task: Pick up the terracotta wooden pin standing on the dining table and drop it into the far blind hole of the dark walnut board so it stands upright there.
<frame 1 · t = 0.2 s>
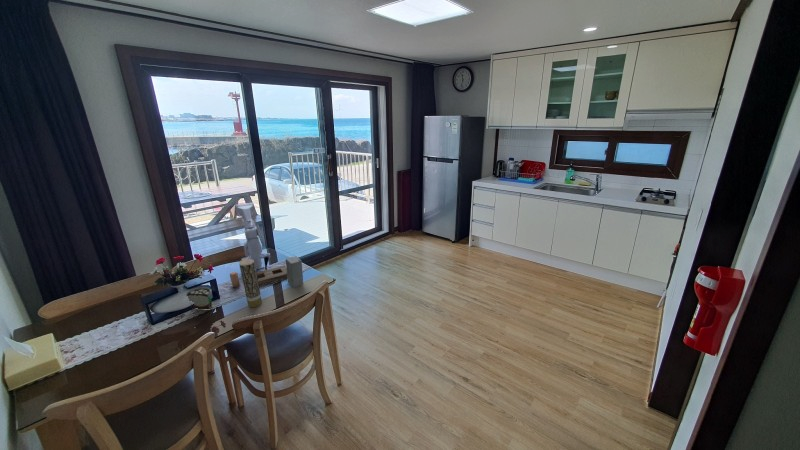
hand: (258, 270, 175), 10 cm above the table, tool pointing down, fingers open, 7 cm apart
pin: (236, 285, 179), on the table
skincare box: (296, 283, 181), on the table
bore board: (269, 278, 187), on the table
food container: (205, 306, 160), on the table
paper tube: (255, 304, 162), on the table
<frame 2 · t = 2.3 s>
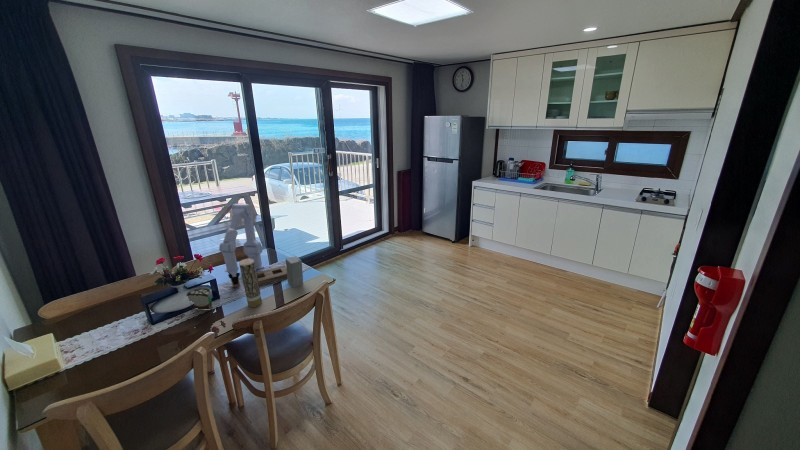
hand: (235, 282, 179), 2 cm above the table, tool pointing down, fingers closed on pin, 4 cm apart
pin: (236, 285, 179), on the table, touching gripper
everything else where it was.
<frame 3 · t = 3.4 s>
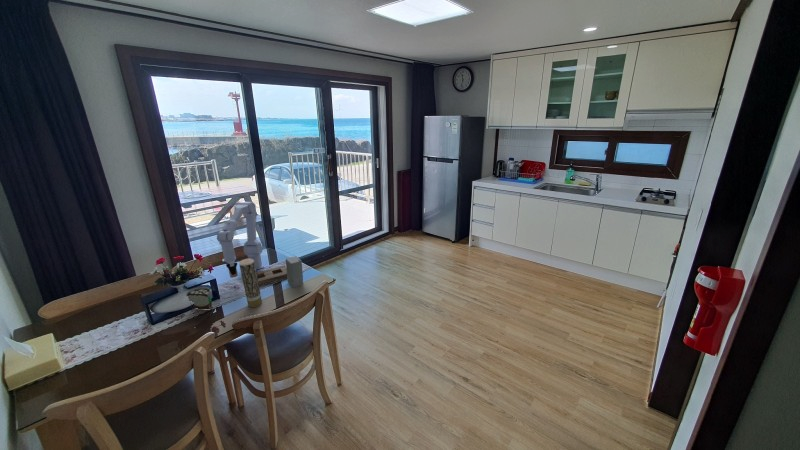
hand: (233, 272, 176), 9 cm above the table, tool pointing down, fingers closed on pin, 4 cm apart
pin: (234, 275, 177), point 6 cm above the table, touching gripper
everything else where it was.
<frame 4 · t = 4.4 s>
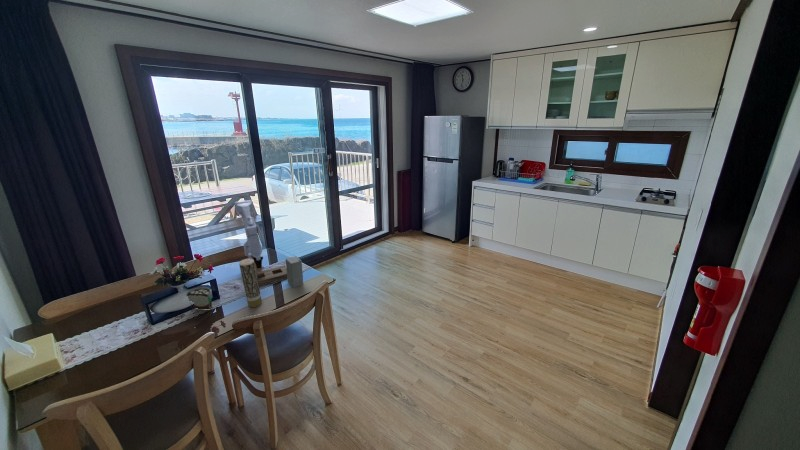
hand: (258, 266, 182), 9 cm above the table, tool pointing down, fingers closed on pin, 4 cm apart
pin: (259, 269, 183), point 7 cm above the table, touching gripper
everything else where it was.
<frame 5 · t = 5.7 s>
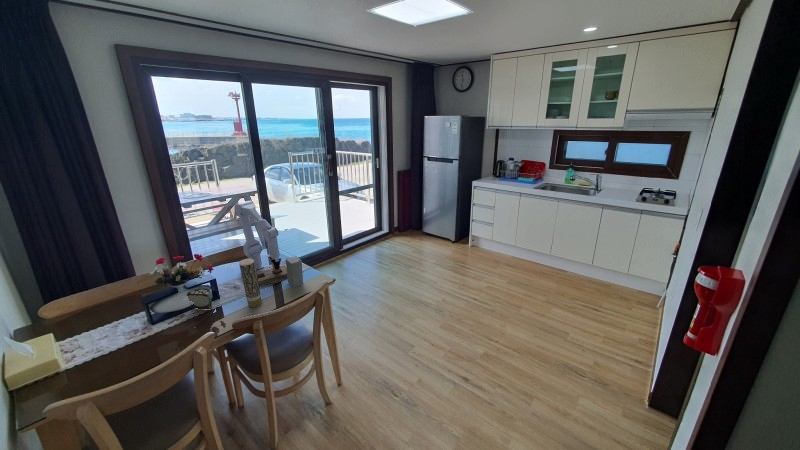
hand: (276, 267, 188), 6 cm above the table, tool pointing down, fingers closed on pin, 4 cm apart
pin: (277, 270, 188), point 4 cm above the table, touching gripper
everything else where it was.
when the fingers open (4 cm above the table, at t = 6.8 s): pin drops 1 cm, resting on bore board.
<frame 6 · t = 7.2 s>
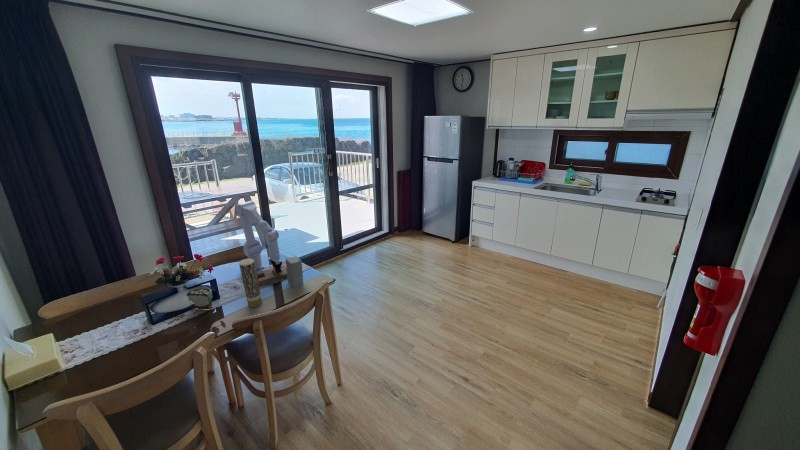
hand: (276, 270, 188), 4 cm above the table, tool pointing down, fingers open, 7 cm apart
pin: (277, 275, 189), point 1 cm above the table, touching bore board
everything else where it was.
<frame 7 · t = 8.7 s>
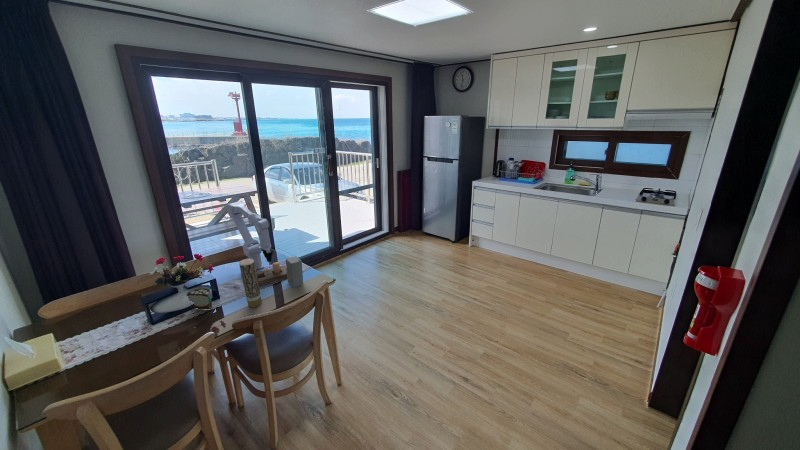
hand: (268, 259, 190), 9 cm above the table, tool pointing down, fingers open, 7 cm apart
nothing on the table moved.
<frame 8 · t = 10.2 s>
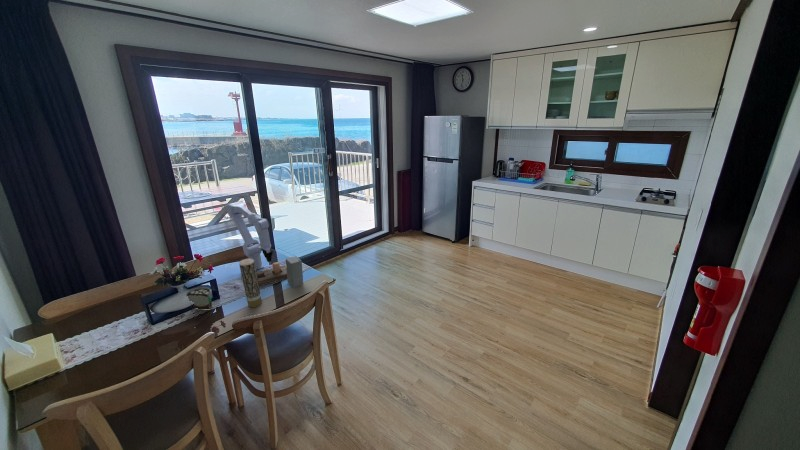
hand: (268, 259, 190), 9 cm above the table, tool pointing down, fingers open, 7 cm apart
nothing on the table moved.
at the end: pin 0.1 cm from the target spot on the bore board, point 0.5 cm above the bore board's base; pin tilted 0°; the gripper is holding nothing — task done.
